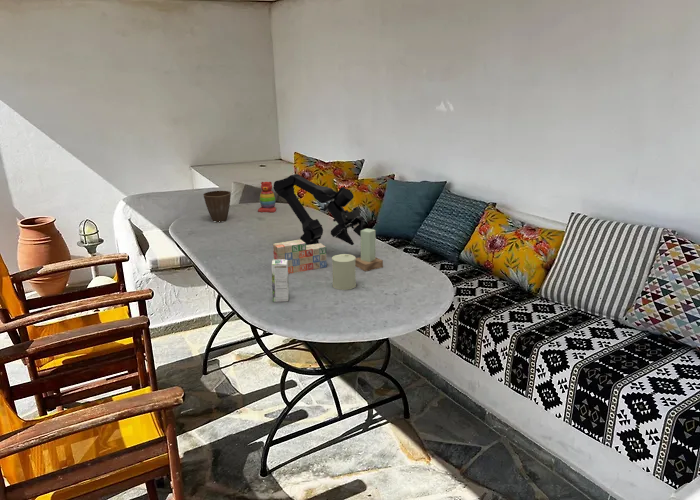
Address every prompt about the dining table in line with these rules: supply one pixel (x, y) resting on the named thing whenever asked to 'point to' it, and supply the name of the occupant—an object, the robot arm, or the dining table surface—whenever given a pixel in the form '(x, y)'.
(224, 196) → the plant pot
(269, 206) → the stacking bear
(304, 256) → the stack of blocks
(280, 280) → the syrup box
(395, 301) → the dining table surface
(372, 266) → the walnut slab
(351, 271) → the can
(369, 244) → the sage post
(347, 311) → the dining table surface
